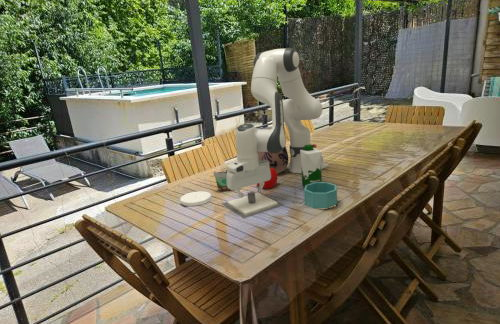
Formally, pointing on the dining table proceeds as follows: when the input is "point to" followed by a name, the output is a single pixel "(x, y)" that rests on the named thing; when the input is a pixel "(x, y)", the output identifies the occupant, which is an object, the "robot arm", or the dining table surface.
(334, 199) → the teal octagonal bowl
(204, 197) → the plastic lid
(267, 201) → the cover board
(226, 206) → the rubber mat
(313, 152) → the milk carton
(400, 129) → the dining table surface
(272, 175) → the tomato
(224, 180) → the food container
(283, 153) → the ceramic pitcher
